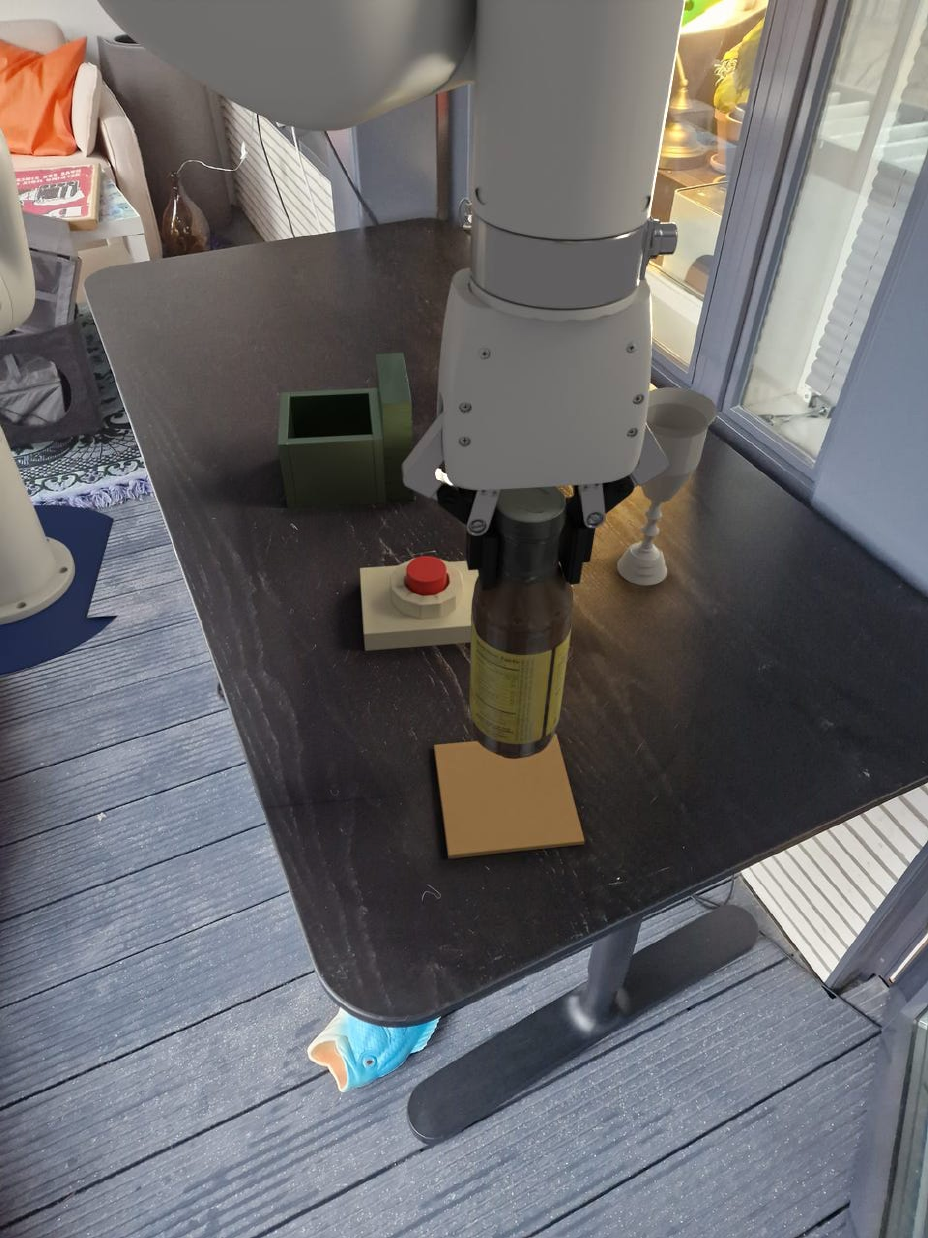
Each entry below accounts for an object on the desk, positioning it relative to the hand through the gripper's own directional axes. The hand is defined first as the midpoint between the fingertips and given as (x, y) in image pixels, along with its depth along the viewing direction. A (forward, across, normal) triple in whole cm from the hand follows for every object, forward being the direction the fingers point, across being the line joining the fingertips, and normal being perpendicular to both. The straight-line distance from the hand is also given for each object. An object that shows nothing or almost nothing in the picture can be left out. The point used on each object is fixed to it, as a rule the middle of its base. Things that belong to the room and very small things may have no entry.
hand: (526, 569), depth 50 cm
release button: (+19, +4, -21) cm, 29 cm away
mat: (+23, 0, 0) cm, 23 cm away
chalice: (+23, -18, -25) cm, 38 cm away
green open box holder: (+23, +10, -44) cm, 51 cm away
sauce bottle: (+15, 0, 0) cm, 15 cm away
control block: (+23, +4, -21) cm, 31 cm away
